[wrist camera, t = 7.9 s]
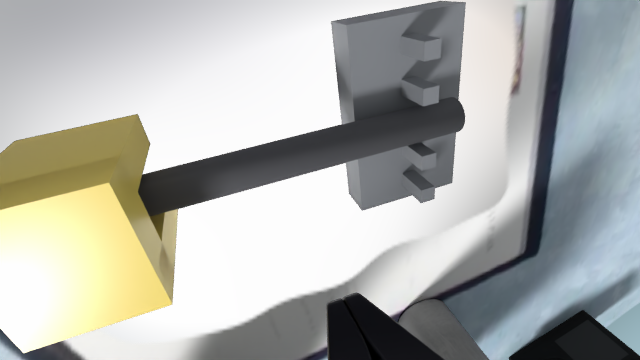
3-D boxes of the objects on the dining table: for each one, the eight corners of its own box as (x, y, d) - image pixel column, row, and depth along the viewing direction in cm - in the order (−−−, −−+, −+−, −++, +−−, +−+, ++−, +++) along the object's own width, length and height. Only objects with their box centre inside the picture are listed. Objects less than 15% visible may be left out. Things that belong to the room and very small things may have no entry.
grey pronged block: (433, 168, 23) (473, 199, 20) (349, 193, 22) (377, 230, 19) (440, 0, 18) (496, 4, 15) (331, 21, 17) (365, 30, 14)
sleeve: (177, 209, 19) (172, 304, 13) (76, 237, 18) (23, 353, 12) (137, 114, 16) (108, 182, 10) (14, 141, 15) (-91, 232, 9)
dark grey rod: (422, 54, 19) (503, 78, 14) (420, 138, 22) (489, 183, 17) (-172, 185, 14) (-376, 297, 9) (-81, 275, 16) (-200, 401, 11)
